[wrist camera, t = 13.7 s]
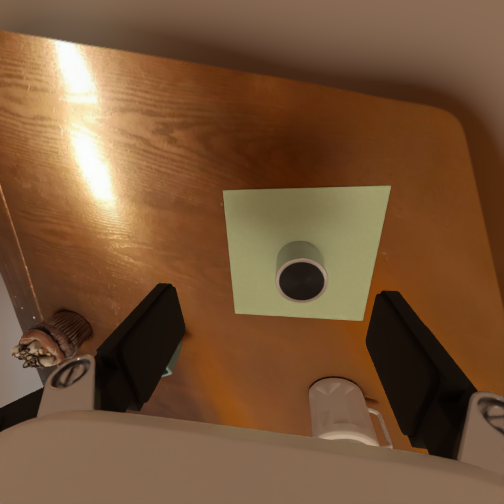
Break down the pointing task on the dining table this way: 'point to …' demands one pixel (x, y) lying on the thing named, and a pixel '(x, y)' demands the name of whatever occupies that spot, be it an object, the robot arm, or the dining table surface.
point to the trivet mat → (308, 230)
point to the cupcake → (52, 340)
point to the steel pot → (300, 272)
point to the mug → (343, 413)
